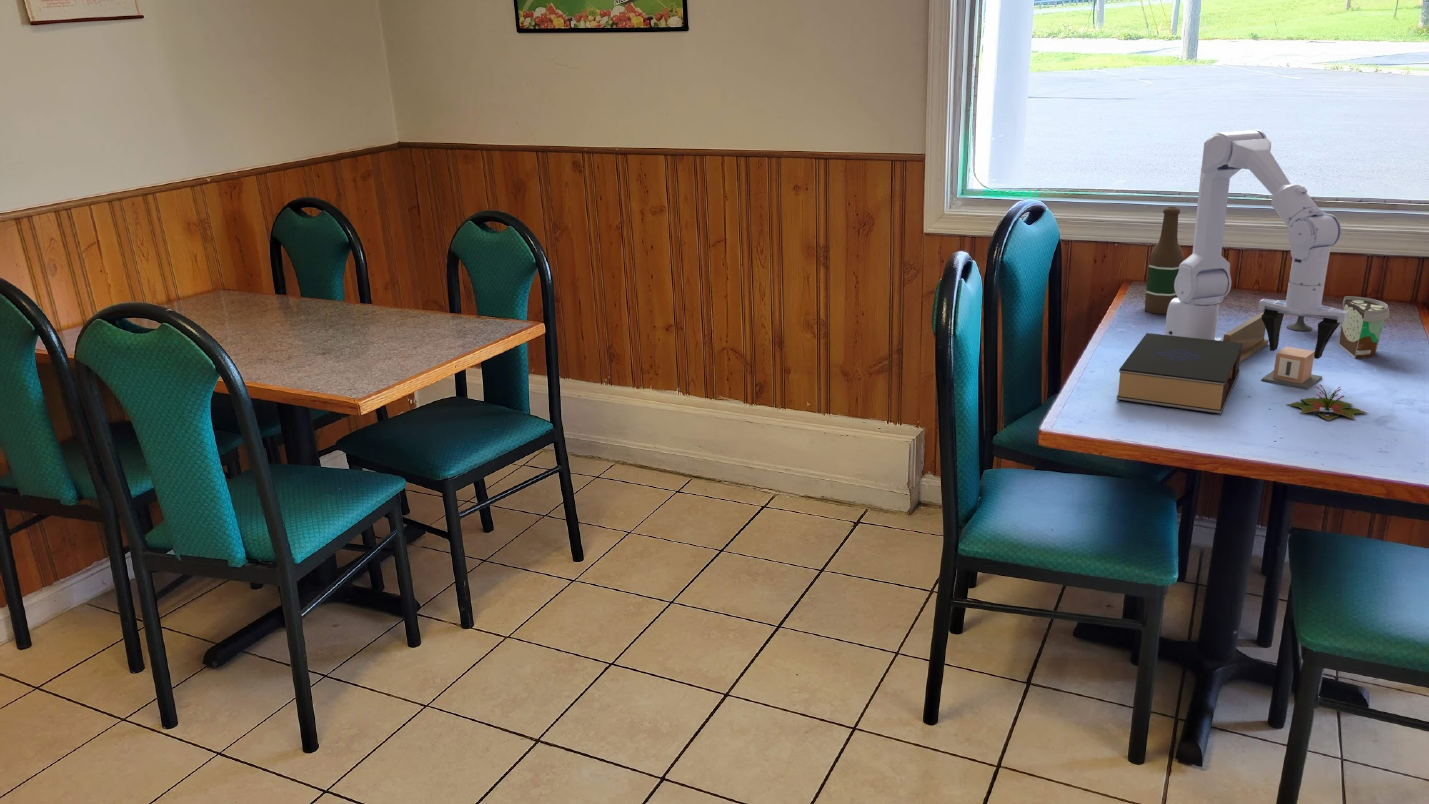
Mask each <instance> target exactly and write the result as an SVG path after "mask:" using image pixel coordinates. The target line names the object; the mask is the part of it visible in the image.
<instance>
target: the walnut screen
mask: <svg viewBox="0 0 1429 804" xmlns="http://www.w3.org/2000/svg"><path fill="white" fill-rule="evenodd" d="M1263 314H1264V312H1260V313H1259V314H1257V315H1255V316H1253V317H1251V318H1250V319H1248V320H1246V321H1245V322H1243V323H1241V324H1239V325H1237V326H1235V327H1234V328H1233V329H1231V330H1229V331H1227V332H1225V333H1224V334H1223V338H1222V341H1228V342H1237V343H1243V346H1242V349H1241V356H1240V363H1242V362H1243V361H1244V360H1246V359H1248V358H1249V357H1251V356H1252V355H1254V354H1256V353H1257V352H1258V351H1260V350H1261V349H1263V348H1265V347H1266V346H1268V345H1269V339H1266V338H1265V335H1266V327H1265V325H1264V323H1263V321H1262V315H1263Z"/></svg>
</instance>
